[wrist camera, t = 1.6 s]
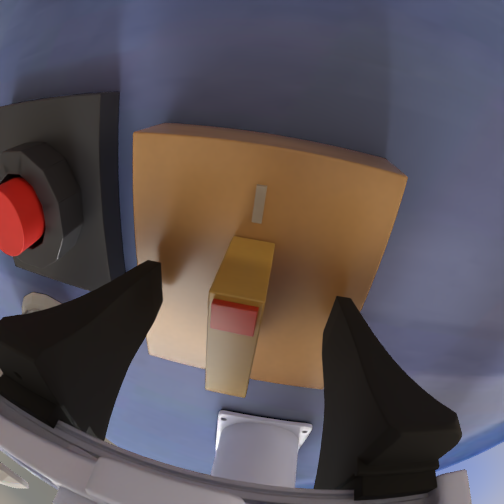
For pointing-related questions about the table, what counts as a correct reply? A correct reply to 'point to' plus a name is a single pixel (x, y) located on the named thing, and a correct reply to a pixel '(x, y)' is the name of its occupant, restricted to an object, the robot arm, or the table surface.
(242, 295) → the lock knob
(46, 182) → the box
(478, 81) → the table surface
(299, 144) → the plate
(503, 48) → the table surface
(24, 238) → the button
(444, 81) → the table surface
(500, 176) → the table surface
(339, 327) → the robot arm
